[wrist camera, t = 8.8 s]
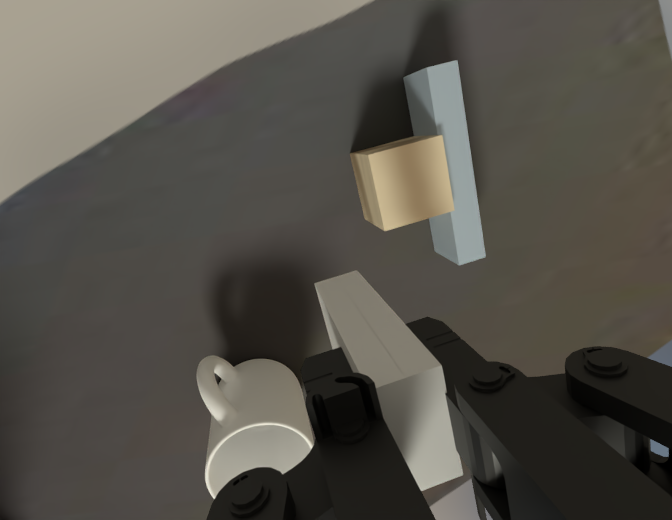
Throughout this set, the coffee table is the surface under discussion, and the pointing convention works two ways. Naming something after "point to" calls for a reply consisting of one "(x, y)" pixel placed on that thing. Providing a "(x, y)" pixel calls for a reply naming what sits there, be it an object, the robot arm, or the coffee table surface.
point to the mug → (252, 418)
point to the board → (448, 158)
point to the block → (403, 181)
